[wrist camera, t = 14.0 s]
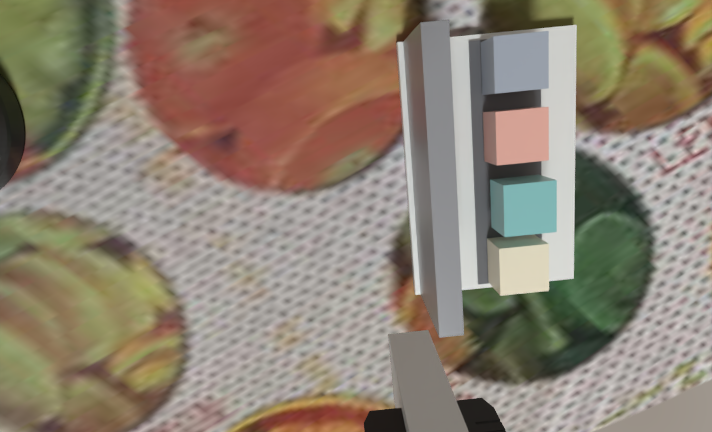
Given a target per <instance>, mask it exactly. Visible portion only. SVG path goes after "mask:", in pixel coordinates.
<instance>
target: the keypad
mask: <svg viewBox="0 0 712 432" xmlns="http://www.w3.org/2000/svg"><path fill="white" fill-rule="evenodd" d="M576 29H577V25H569V26H559V27H549V28H538V29H528V30H518V31H508V32H497V33H487V34H477V35H466V36H456V37H450V29H449V20H441V21H430V22H420V24H419V25H418V26H417V27H416V28H415V29H414V30H413V31H412V32H411V33H410V35H409V36H408V37H407V38H406V39H405V40H404V41H403V42H397V43H396V48H397V62H398V76H399V90H400V103H401V117H402V131H403V145H404V159H405V173H406V186H407V200H408V214H409V228H410V242H411V256H412V269H413V283H414V292H415V295H419V294H421V296H422V299H423V301H424V303H425V306H426V308H427V310H428V312H429V315H430V317H431V319H432V322H433V324H434V326H435V328H436V331H437V333H438V335H439V337H449V336H458V335H464V326H463V305H462V290H468V289H477V288H487V287H492V285H491V284H490V283H489V282H488V254H487V238H495V237H504V236H502V235H501V234H500V233H498V232H497V231H496V230H494V229H493V228H492V227H491V196H490V179H500V178H510V177H520V176H529V175H542V176H545V177H548V178H552V179H555V180H557V232H552V233H542V234H534V235H536V236H537V237H539V238H541V239H542V240H544V241H545V242H547V243H548V244H549V281H555V280H564V279H574V207H575V118H576ZM542 31H549V88H547V89H538V90H529V91H519V92H508V93H498V94H488V95H482V73H481V42H483V41H485V40H487V39H489V38H491V37H493V36H501V35H511V34H521V33H532V32H542ZM528 107H549V160H547V161H538V162H528V163H518V164H508V165H498V166H497V165H494V164H491V163H488V162H485V161H484V134H483V112H488V111H498V110H508V109H518V108H528Z"/></svg>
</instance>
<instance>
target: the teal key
mask: <svg viewBox="0 0 712 432" xmlns="http://www.w3.org/2000/svg"><path fill="white" fill-rule="evenodd" d="M490 196H491V227H492V228H493V229H494V230H496V231H497V232H498V233H500V234H501V235H502V236H504V237H513V236H522V235H532V234H542V233H552V232H557V180H555V179H552V178H548V177H545V176H542V175H529V176H520V177H510V178H500V179H490Z"/></svg>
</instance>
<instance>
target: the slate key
mask: <svg viewBox="0 0 712 432" xmlns="http://www.w3.org/2000/svg"><path fill="white" fill-rule="evenodd" d="M481 73H482V95H488V94H498V93H508V92H519V91H529V90H538V89H547V88H549V31H542V32H532V33H521V34H511V35H501V36H493V37H491V38H489V39H487V40H485V41H483V42H481Z"/></svg>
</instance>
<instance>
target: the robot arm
mask: <svg viewBox="0 0 712 432" xmlns="http://www.w3.org/2000/svg"><path fill="white" fill-rule="evenodd" d="M24 140H25V133H24V123H23V118H22V114H21V110H20V107H19V104H18V102H17V100H16V97H15V95H14V93H13V92H12V90H11V88H10V86H9V85H8V83H7V82H6V81H5V79H4V78H3V77H2V75H1V74H0V189H1V188H2V187H4V186H5V185H6V184H7V183H8V181H9V180H10V179H11V178H12V176H13V175H14V173H15V171H16V170H17V168H18V166H19V163H20V160H21V158H22V154H23V149H24ZM388 338H389V349H390V360H391V371H392V383H393V394H394V402H395V407H396V408H395V409H385V410H376V411H370V412H369V414H368V416H367V418H366V420H365V422H364V429H365V432H505V428H504V426H503V425H502V423H501V422H500V419H499V417H498V415H497V413H496V411H495V409H494V407H492V406H491V405H490V404H489V403H487V402H486V401H485V400H484V399H482V398H477V399H467V400H458V401H456V399H455V396H454V394H453V391H452V389H451V386H450V384H449V381H448V379H447V376H446V374H445V371H444V369H443V366H442V364H441V361H440V359H439V356H438V354H437V351H436V349H435V346H434V344H433V341H432V339H431V336H430V334H429V331H428V330H425V331H415V332H406V333H396V334H388Z"/></svg>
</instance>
